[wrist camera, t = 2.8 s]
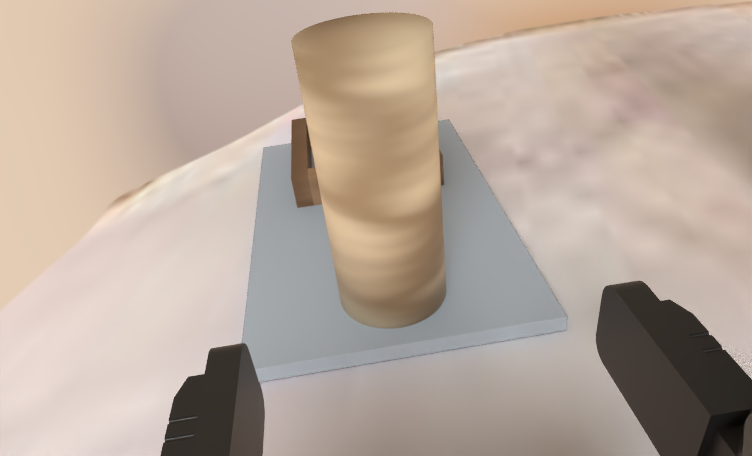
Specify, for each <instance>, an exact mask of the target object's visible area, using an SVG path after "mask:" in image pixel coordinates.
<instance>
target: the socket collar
mask: <svg viewBox="0 0 752 456" xmlns="http://www.w3.org/2000/svg"><path fill="white" fill-rule="evenodd" d="M311 149H312V147H311V142H310V137H309V132H308V126H307V121H306V118H302V119H295V120H292V142H291V181H292V186H293V190H294V195H295V199H296V204H297V208H301V207H307V206H314V205H320V204H322V200H321V195H320V189H319V184H318V179H317V174H316V168H312V162H311ZM439 156H440V176H441V185H444V169H443V155H442V153H441V151H440V149H439Z"/></svg>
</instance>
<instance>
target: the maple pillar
mask: <svg viewBox="0 0 752 456" xmlns="http://www.w3.org/2000/svg"><path fill="white" fill-rule="evenodd" d="M291 42H292V47H293V52H294V58H295V63H296V68H297V73H298V79H299V83H300V89H301V95H302V100H303V105H304V110H305V116H306V121H307V126H308V132H309V137H310V142H311V147H312V153H313V158H314V163H315V168H316V174H317V179H318V184H319V189H320V195H321V200H322V205H323V211H324V216H325V221H326V226H327V232H328V237H329V242H330V247H331V253H332V258H333V263H334V268H335V274H336V279H337V284H338V290H339V295H340V300H341V304H342V307H343V309H344V310H345V312H346V313H347V314H348V315H349V316H350V317H351V318H352V319H354V320H355V321H357V322H359V323H361V324H364V325H367V326H370V327H375V328H384V329H393V328H402V327H406V326H410V325H413V324H416V323H419V322H421V321H423V320H425V319H427V318H428V317H430V316H431V315H432V314H434V313H435V312H436V311H437V310H438V309H439V307H440V306H441V305H442V303H443V301H444V299H445V296H446V276H445V256H444V236H443V216H442V196H441V176H440V156H439V136H438V116H437V96H436V76H435V56H434V37H433V23H432V21H431V20H429V19H428V18H426V17H423V16H420V15H415V14H407V13H370V14H361V15H353V16H347V17H342V18H337V19H333V20H329V21H325V22H322V23H319V24H315V25H313V26H310V27H308V28H306V29H304V30H302V31H300V32H299V33H297V34H296V35H295V36H294V37H293V38H292V41H291Z"/></svg>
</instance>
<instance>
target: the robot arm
mask: <svg viewBox="0 0 752 456" xmlns="http://www.w3.org/2000/svg"><path fill="white" fill-rule="evenodd" d="M596 344H597V349H598V353H599V356H600V358H601V361H602V362H603V364H604V366H605V367H606V369H607V371H608V372H609V374H610V376H611V377H612V379H613V380H614V382H615V384H616V385H617V387H618V388H619V390H620V392H621V393H622V395H623V396H624V398H625V400H626V401H627V403H628V404H629V406H630V408H631V409H632V411H633V412H634V414H635V416H636V417H637V419H638V421H639V422H640V424H641V425H642V427H643V429H644V430H645V432H646V433H647V435H648V437H649V438H650V440H651V441H652V443H653V445H654V446H655V448H656V449H657V451H658V453H659V454H660V456H752V380H751V378H750V377H749V376H748V375H747V374H746V373H745V372H744V371H743V369H742V368H741V367H740V366H739V365H738V364H737V363H736V362H735V361H734V359H733V358H732V357H731V356H730V355H729V354H728V353H727V352H726V350H722V346H721V345H720V344H719V343H718V342H717V340H716V339H715V338H714V337H713V336H712V335H709V331H708V330H707V329H706V328H705V327H704V326H703V325H702V324H701V323H700V321H699V320H698V319H697V318H696V317H695V316H694V315H693V314H692V313H691V312H689V311H687V310H686V309H684V308H682V307H681V306H679V305H678V304H676V303H674V302H673V301H671V300H664V301H660V300H659V299H658V298H657V297H656V295H655V294H654V293H653V292H652V291H651V289H650V288H649V287H648V286H647V285H646V284H645V283H644V282H642V281H634V282H628V283H622V284H615V285H609V286H606V287H605V288H604V290H603V293H602V299H601V306H600V312H599V319H598V325H597V332H596ZM264 420H265V411H264V400H263V394H262V390H261V386H260V383H259V380H258V377H257V374H256V371H255V368H254V365H253V361H252V358H251V355H250V352H249V349H248V347H247V345H246V344H245V343H242V344H236V345H230V346H223V347H217V348H211V349H210V351H209V354H208V359H207V364H206V370H205V374H203V375H197V376H191V377H188V378H187V379H186V381H185V382H184V384H183V385H182V387H181V388H180V390H179V391H178V393H177V394H176V396H175V397H174V400H173V404H172V409H171V413H170V417H169V424H168V426H167V430H166V434H165V443H163V447H162V452H161V456H262V454H263V437H264Z"/></svg>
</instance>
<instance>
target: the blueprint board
mask: <svg viewBox="0 0 752 456" xmlns="http://www.w3.org/2000/svg"><path fill="white" fill-rule="evenodd" d="M438 136H439V149H440V151H441V153H442V155H443V169H444V185H441V196H442V216H443V236H444V256H445V276H446V296H445V299H444V301H443V303H442V305H441V306H440V307H439V309H438V310H437V311H436V312H435V313H434V314H432V315H431V316H430V317H428V318H427V319H425V320H423V321H421V322H419V323H416V324H413V325H410V326H406V327H402V328H393V329H384V328H375V327H370V326H367V325H364V324H361V323H359V322H357V321H355V320H354V319H352V318H351V317H350V316H349V315H348V314H347V313H346V312H345V310H344V309H343V307H342V304H341V300H340V295H339V290H338V284H337V279H336V274H335V268H334V263H333V258H332V253H331V247H330V242H329V237H328V232H327V226H326V221H325V216H324V211H323V205H322V204H320V205H314V206H307V207H301V208H297V204H296V199H295V195H294V190H293V186H292V181H291V144H284V145H277V146H271V147H264V148H263V157H262V166H261V175H260V184H259V193H258V202H257V211H256V220H255V229H254V238H253V247H252V256H251V265H250V274H249V283H248V292H247V301H246V310H245V319H244V328H243V337H242V343H245V344H246V345H247V347H248V349H249V352H250V355H251V358H252V361H253V365H254V368H255V371H256V374H257V377H258V380H259V382H264V381H269V380H275V379H281V378H287V377H293V376H299V375H305V374H311V373H317V372H323V371H329V370H335V369H340V368H346V367H352V366H358V365H364V364H370V363H376V362H382V361H388V360H394V359H400V358H406V357H412V356H417V355H423V354H429V353H435V352H441V351H447V350H453V349H459V348H465V347H471V346H477V345H483V344H488V343H494V342H500V341H506V340H512V339H518V338H524V337H530V336H536V335H542V334H548V333H554V332H559V331H565V330H566V325H567V315H566V314H565V312H564V310H563V309H562V307H561V305H560V304H559V302H558V300H557V299H556V297H555V295H554V294H553V292H552V290H551V289H550V287H549V285H548V284H547V282H546V280H545V279H544V277H543V275H542V274H541V272H540V270H539V269H538V267H537V265H536V264H535V262H534V260H533V259H532V257H531V255H530V254H529V252H528V250H527V249H526V247H525V245H524V244H523V242H522V240H521V239H520V237H519V235H518V234H517V232H516V230H515V229H514V227H513V225H512V224H511V222H510V220H509V219H508V217H507V215H506V214H505V212H504V210H503V209H502V207H501V205H500V204H499V202H498V200H497V199H496V197H495V195H494V194H493V192H492V190H491V189H490V187H489V185H488V184H487V182H486V180H485V179H484V177H483V175H482V174H481V172H480V170H479V169H478V167H477V165H476V164H475V162H474V160H473V159H472V157H471V155H470V154H469V152H468V150H467V149H466V147H465V145H464V144H463V142H462V140H461V139H460V137H459V135H458V134H457V132H456V130H455V129H454V127H453V125H452V124H451V122H450V121H449V120H442V121H438ZM311 162H312V168H315V163H314V158H313V153H312V149H311Z"/></svg>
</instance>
